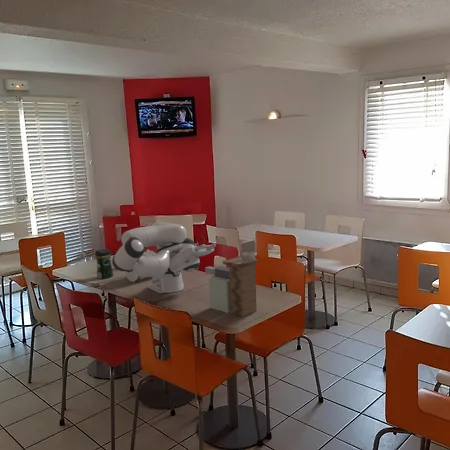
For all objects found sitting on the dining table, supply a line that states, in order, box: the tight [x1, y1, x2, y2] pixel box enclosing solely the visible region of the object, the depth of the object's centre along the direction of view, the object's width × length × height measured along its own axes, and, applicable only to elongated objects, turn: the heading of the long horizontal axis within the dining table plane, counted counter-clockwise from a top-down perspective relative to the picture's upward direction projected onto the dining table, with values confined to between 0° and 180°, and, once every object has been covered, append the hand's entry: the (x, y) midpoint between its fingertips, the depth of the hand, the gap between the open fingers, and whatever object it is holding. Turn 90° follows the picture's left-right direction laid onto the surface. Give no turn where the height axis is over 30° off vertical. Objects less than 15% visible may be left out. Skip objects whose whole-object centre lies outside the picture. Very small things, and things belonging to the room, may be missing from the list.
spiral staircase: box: [123, 249, 156, 283], centre depth 291 cm, size 18×18×25 cm
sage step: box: [208, 275, 231, 314], centre depth 234 cm, size 12×12×16 cm
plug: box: [204, 265, 229, 279], centre depth 235 cm, size 18×5×4 cm, turn 46°
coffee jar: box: [94, 248, 114, 280], centre depth 298 cm, size 10×8×19 cm
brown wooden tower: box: [222, 239, 259, 317], centre depth 225 cm, size 12×12×36 cm
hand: (209, 245), depth 244 cm, fingers open, 8 cm apart
